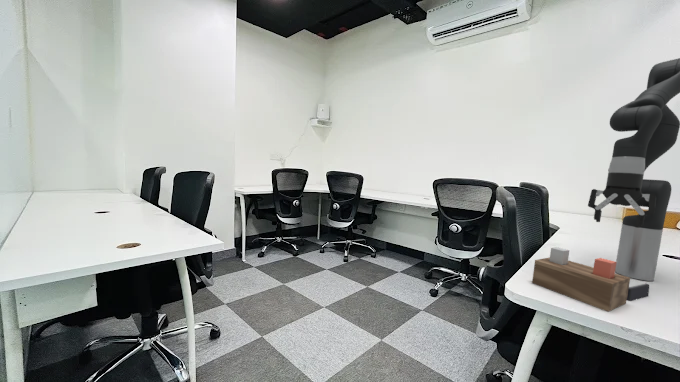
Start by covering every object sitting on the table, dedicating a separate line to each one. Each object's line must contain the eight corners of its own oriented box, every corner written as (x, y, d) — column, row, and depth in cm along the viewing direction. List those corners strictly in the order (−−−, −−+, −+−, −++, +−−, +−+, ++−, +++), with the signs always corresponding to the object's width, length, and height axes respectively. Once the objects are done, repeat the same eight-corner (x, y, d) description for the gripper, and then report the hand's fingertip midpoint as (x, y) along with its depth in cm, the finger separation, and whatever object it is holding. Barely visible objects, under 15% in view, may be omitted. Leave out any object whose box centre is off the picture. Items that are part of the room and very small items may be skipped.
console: (551, 277, 85) (554, 256, 84) (626, 303, 70) (630, 277, 70) (532, 282, 80) (535, 260, 79) (608, 311, 65) (612, 283, 64)
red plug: (596, 282, 72) (600, 257, 72) (612, 288, 70) (616, 261, 69) (591, 284, 71) (594, 259, 70) (607, 289, 68) (611, 263, 68)
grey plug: (553, 269, 81) (556, 246, 81) (566, 273, 78) (569, 250, 78) (547, 270, 80) (551, 247, 79) (560, 274, 77) (564, 251, 76)
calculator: (585, 265, 90) (650, 282, 76) (584, 278, 90) (649, 296, 76) (565, 268, 85) (631, 286, 72) (564, 281, 86) (629, 302, 72)
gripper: (661, 175, 79) (651, 229, 80) (595, 172, 90) (588, 219, 91) (661, 173, 74) (651, 230, 75) (592, 170, 85) (583, 220, 86)
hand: (616, 224), depth 83 cm, fingers open, 8 cm apart
